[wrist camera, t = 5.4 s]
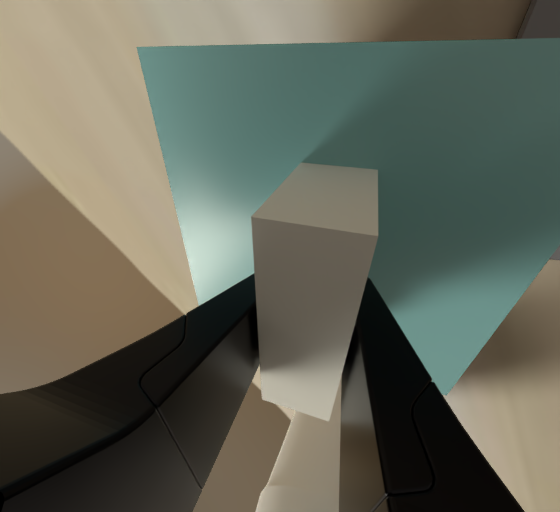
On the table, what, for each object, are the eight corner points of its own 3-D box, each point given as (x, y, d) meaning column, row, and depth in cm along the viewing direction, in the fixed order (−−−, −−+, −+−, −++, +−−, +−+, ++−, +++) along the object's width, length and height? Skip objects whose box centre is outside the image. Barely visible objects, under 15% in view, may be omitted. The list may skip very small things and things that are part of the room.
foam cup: (316, 317, 21) (261, 533, 11) (426, 359, 20) (477, 641, 10) (291, 372, 27) (239, 549, 17) (376, 408, 26) (376, 619, 16)
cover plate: (671, 40, 5) (1495, -70, 1) (442, 377, 11) (472, 511, 8) (157, 49, 7) (-36, 23, 4) (212, 316, 14) (157, 395, 10)
